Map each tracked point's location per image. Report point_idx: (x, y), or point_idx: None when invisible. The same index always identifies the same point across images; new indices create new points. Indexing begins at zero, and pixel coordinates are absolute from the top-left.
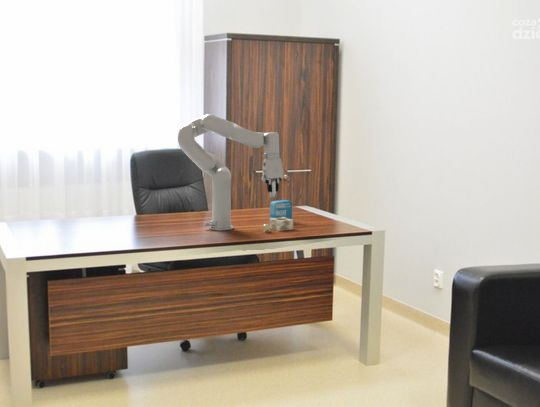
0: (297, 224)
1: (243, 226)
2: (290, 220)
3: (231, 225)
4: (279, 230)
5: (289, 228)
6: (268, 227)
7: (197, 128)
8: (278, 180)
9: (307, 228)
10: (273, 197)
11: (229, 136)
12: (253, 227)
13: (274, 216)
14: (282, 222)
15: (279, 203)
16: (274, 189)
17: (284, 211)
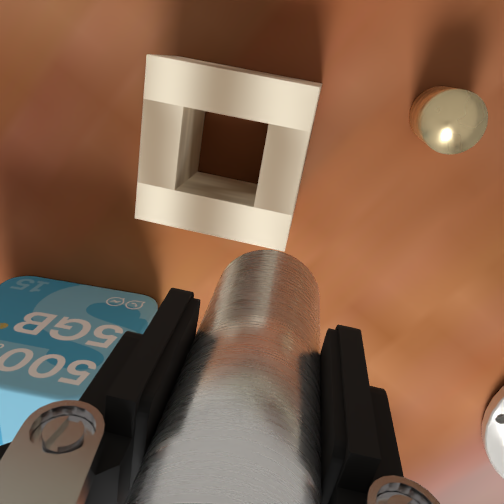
0: (30, 186)
1: (391, 381)
2: (180, 60)
3: (496, 416)
4: (313, 82)
5: (210, 62)
6: (456, 88)
7: None
8: (19, 491)
9: (52, 4)
10: (299, 263)
11: None
12: (366, 314)
13: (143, 328)
14: (276, 78)
15: (39, 383)
16: (265, 331)
17: (32, 326)
